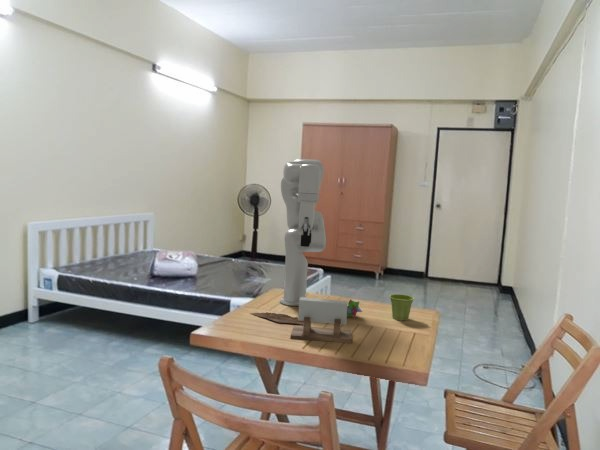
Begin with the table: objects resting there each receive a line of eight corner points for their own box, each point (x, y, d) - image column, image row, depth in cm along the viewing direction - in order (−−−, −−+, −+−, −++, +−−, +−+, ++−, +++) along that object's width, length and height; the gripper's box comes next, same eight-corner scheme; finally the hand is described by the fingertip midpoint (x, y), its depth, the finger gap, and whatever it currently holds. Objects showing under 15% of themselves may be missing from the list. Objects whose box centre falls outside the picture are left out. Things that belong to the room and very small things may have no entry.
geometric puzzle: (366, 314, 182) (361, 295, 186) (350, 315, 179) (346, 296, 183) (358, 321, 187) (354, 302, 191) (343, 322, 185) (338, 303, 189)
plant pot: (406, 323, 180) (407, 301, 180) (383, 318, 186) (385, 296, 185) (416, 318, 188) (418, 297, 187) (394, 313, 194) (396, 293, 193)
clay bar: (299, 317, 163) (300, 297, 163) (346, 321, 161) (347, 301, 161) (298, 320, 159) (299, 299, 159) (346, 324, 157) (347, 303, 157)
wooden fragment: (317, 322, 176) (317, 320, 176) (303, 329, 166) (303, 327, 166) (260, 311, 189) (260, 308, 188) (243, 316, 179) (243, 314, 179)
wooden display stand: (293, 328, 167) (294, 308, 166) (350, 332, 165) (352, 313, 165) (290, 338, 156) (291, 317, 155) (351, 343, 154) (353, 322, 154)
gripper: (300, 197, 183) (297, 241, 184) (296, 198, 166) (293, 247, 167) (319, 198, 182) (317, 242, 184) (317, 199, 165) (314, 248, 167)
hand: (305, 244), depth 176 cm, fingers open, 9 cm apart
